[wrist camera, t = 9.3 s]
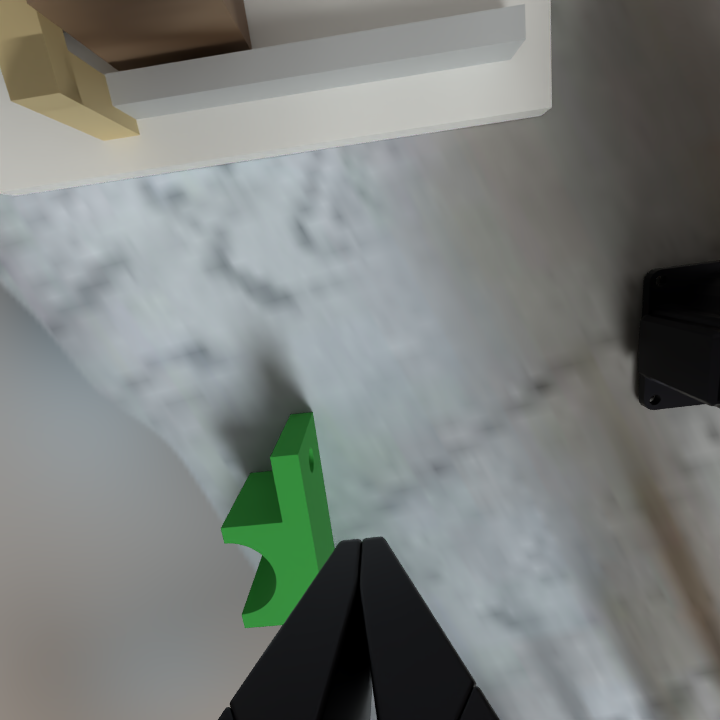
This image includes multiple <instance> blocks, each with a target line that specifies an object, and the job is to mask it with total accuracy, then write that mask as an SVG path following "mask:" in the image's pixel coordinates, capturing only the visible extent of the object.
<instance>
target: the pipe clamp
mask: <svg viewBox="0 0 720 720" xmlns="http://www.w3.org/2000/svg"><path fill="white" fill-rule="evenodd" d="M270 460H271V465H272V470H273V471H265V472H256V473H250V475H249V476H248V478H247V480H246V482H245V484H244V486H243V488H242V490H241V491H240V493H239V495H238V497H237V499H236V501H235V503H234V504H233V506H232V508H231V510H230V512H229V514H228V516H227V518H226V519H225V521H224V523H223V525H222V527H221V531H222V535H223V539H224V543H234V544H240V545H244V546H247V547H250V548H252V549H254V550H256V551H257V552H259V553H260V554H262V558H261V561H260V564H259V566H258V569H257V572H256V575H255V578H254V581H253V584H252V587H251V590H250V592H249V595H248V598H247V601H246V604H245V607H244V610H243V613H242V618H243V622H244V626H245V628H251V627H264V626H275V625H283V624H284V622H285V621H286V620H287V618H288V617H289V615H290V614H291V612H292V611H293V609H294V608H295V606H296V605H297V603H298V602H299V600H300V599H301V598H302V596H303V595H304V593H305V592H306V590H307V589H308V587H309V586H310V584H311V583H312V581H313V580H314V579H315V577H316V576H317V574H318V573H319V571H320V570H321V568H322V567H323V565H324V564H325V562H326V561H327V559H328V558H329V557H330V555H331V554H332V552H333V551H334V549H335V548H334V542H333V536H332V529H331V523H330V517H329V511H328V504H327V498H326V492H325V486H324V480H323V473H322V467H321V461H320V455H319V448H318V442H317V436H316V430H315V424H314V417H313V412H309V413H300V414H290V416H289V419H288V421H287V423H286V425H285V427H284V429H283V431H282V433H281V435H280V437H279V439H278V442H277V444H276V446H275V448H274V450H273V452H272V454H271V456H270Z"/></svg>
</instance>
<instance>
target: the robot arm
mask: <svg viewBox="0 0 720 720" xmlns="http://www.w3.org/2000/svg"><path fill="white" fill-rule="evenodd" d="M658 276H660V277H661V282H660V283H659V285H656V279H657V277H658ZM638 372H639V373H640V376H639V402H640V404H641V405H643V406H645V407H646V408H648V409H650V410H658V409H666V408H675V407H684V406H692V405H701V404H707V405H710V406H716V407H718V408H720V260H719V261H711V262H704V263H696V264H689V265H681V266H673V267H666V268H658V269H654V270H651V271H650V272H648V273H647V275H646V276H645V278H644V284H643V307H642V319H641V321H640V334H639V358H638ZM653 395H655V398H654V399H653V400H652V401H651V402H650V401H649V400H650V398H651V397H652V396H653ZM372 687H373V694H374V701H375V708H376V715H377V720H500V719H499V717H498V716H497V714H496V713H495V711H494V710H493V708H492V707H491V705H490V704H489V702H488V700H487V699H486V697H485V696H484V694H483V693H482V691H481V689H480V688H479V687H477V686H476V682H475V680H474V679H473V677H472V676H471V674H470V672H469V671H468V669H467V668H466V666H465V665H464V663H463V661H462V660H461V658H460V657H459V655H458V654H457V652H456V650H455V649H454V647H453V646H452V644H451V642H450V641H449V639H448V638H447V636H446V635H445V633H444V631H443V630H442V628H441V627H440V625H439V624H438V622H437V620H436V619H435V617H434V616H433V614H432V612H431V611H430V609H429V608H428V606H427V605H426V603H425V601H424V600H423V598H422V597H421V595H420V594H419V592H418V590H417V589H416V587H415V586H414V584H413V582H412V581H411V579H410V578H409V576H408V575H407V573H406V571H405V570H404V568H403V567H402V565H401V564H400V562H399V560H398V559H397V557H396V556H395V554H394V552H393V551H392V549H391V548H390V546H389V545H388V543H387V541H386V540H385V539H384V538H383V537H372V538H365V539H363V541H361V540H360V539H352V540H343V541H341V542H339V543H338V545H337V546H336V548H335V549H334V551H333V552H332V554H331V555H330V557H329V558H328V559H327V561H326V562H325V564H324V565H323V567H322V568H321V570H320V571H319V573H318V574H317V576H316V577H315V579H314V580H313V581H312V583H311V584H310V586H309V587H308V589H307V590H306V592H305V593H304V595H303V596H302V598H301V599H300V600H299V602H298V603H297V605H296V606H295V608H294V609H293V611H292V612H291V614H290V615H289V617H288V618H287V620H286V621H285V622H284V624H283V625H282V627H281V628H280V630H279V631H278V633H277V634H276V636H275V637H274V639H273V640H272V642H271V643H270V645H269V646H268V647H267V649H266V650H265V652H264V653H263V655H262V656H261V658H260V659H259V661H258V662H257V663H256V665H255V667H254V668H253V669H252V671H251V672H250V674H249V675H248V677H247V678H246V680H245V681H244V683H243V684H242V685H241V687H240V689H239V690H238V691H237V693H236V694H235V696H234V697H233V699H232V700H231V702H230V707H231V708H230V707H227V708H226V709H225V710H224V711H223V713H222V715H221V716H220V717H219V719H218V720H370V713H371V696H372Z"/></svg>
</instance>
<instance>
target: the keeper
mask: <svg viewBox="0 0 720 720" xmlns="http://www.w3.org/2000/svg"><path fill="white" fill-rule="evenodd" d="M26 1H27V4H28V5H30V6H31V7H32V8H34V9H35V10H37V11H38V12H39V13H41V14H42V15H43V16H45V17H46V18H47V19H49V20H50V21H51V22H53V23H54V24H56V25H57V26H58V27H60V28H61V29H62V30H64V31H65V32H66V33H68V34H69V35H70V36H72V37H73V38H75V39H76V40H77V41H79V42H80V43H81V44H83V45H84V46H85V47H87V48H88V49H89V50H91V51H92V52H94V53H95V54H96V55H98V56H99V57H100V58H102V59H103V60H104V61H106V62H107V63H108V64H110V65H111V66H113V67H114V68H115V69H117V70H118V71H125V70H131V69H137V68H143V67H149V66H155V65H161V64H167V63H173V62H179V61H185V60H191V59H197V58H203V57H209V56H215V55H222V54H228V53H234V52H240V51H246V50H252V46H251V40H250V34H249V29H248V23H247V17H246V11H245V6H244V0H26Z"/></svg>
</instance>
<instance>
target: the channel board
mask: <svg viewBox="0 0 720 720" xmlns="http://www.w3.org/2000/svg"><path fill="white" fill-rule="evenodd" d="M244 6H245V11H246V17H247V23H248V29H249V34H250V40H251V46H252V50H246V51H240V52H234V53H228V54H222V55H215V56H209V57H203V58H197V59H191V60H185V61H179V62H173V63H167V64H161V65H155V66H149V67H143V68H137V69H131V70H125V71H118V70H117V69H115V68H114V67H113V66H111V65H110V64H108V63H107V62H106V61H104V60H103V59H102V58H100V57H99V56H98V55H96V54H95V53H94V52H92V51H91V50H89V49H88V48H87V47H85V46H84V45H83V44H81V43H80V42H79V41H77V40H76V39H75V38H73V37H72V36H70V35H69V34H68V33H63V30H62V29H61V28H60V27H58V26H57V25H56V24H54V23H53V22H51V21H50V20H49V19H47V18H46V17H45V16H43V15H42V14H41V13H39V12H38V11H37V10H35V9H34V8H32V7H31V6H30V5H28V4H27V1H26V0H0V194H7V195H13V196H20V195H26V194H33V193H40V192H46V191H53V190H59V189H66V188H72V187H79V186H85V185H92V184H98V183H105V182H112V181H118V180H125V179H131V178H138V177H144V176H151V175H157V174H164V173H171V172H177V171H184V170H190V169H197V168H203V167H210V166H216V165H223V164H229V163H236V162H243V161H249V160H256V159H262V158H269V157H275V156H282V155H288V154H295V153H302V152H308V151H315V150H321V149H328V148H334V147H341V146H347V145H354V144H361V143H367V142H374V141H380V140H387V139H393V138H400V137H406V136H413V135H419V134H426V133H433V132H439V131H446V130H452V129H459V128H465V127H472V126H478V125H485V124H492V123H498V122H505V121H511V120H518V119H524V118H531V117H537V116H542V115H543V114H544V113H545V112H547V111H548V110H549V109H550V108H552V77H551V0H244Z"/></svg>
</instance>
